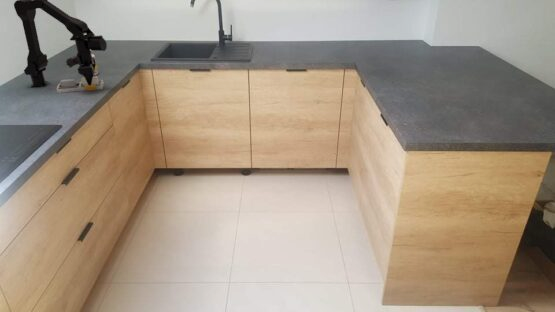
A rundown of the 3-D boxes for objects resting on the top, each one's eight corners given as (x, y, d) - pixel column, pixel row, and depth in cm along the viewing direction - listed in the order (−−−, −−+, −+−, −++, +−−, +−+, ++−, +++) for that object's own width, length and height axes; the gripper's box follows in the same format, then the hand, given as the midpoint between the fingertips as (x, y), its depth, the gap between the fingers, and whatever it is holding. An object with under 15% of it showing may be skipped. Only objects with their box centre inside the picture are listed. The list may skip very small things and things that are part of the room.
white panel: (84, 87, 197) (82, 77, 195) (99, 86, 199) (97, 76, 197) (83, 88, 195) (81, 78, 193) (99, 87, 197) (97, 77, 195)
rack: (59, 87, 197) (58, 82, 195) (103, 83, 202) (102, 79, 201) (57, 93, 190) (55, 88, 189) (102, 89, 195) (101, 84, 194)
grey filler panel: (63, 89, 195) (61, 80, 193) (77, 87, 197) (74, 79, 194) (62, 90, 193) (60, 81, 191) (76, 89, 194) (74, 80, 192)
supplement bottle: (83, 73, 216) (77, 49, 210) (95, 71, 220) (90, 47, 214) (87, 76, 212) (81, 52, 206) (100, 74, 216) (95, 50, 210)
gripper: (67, 46, 194) (74, 78, 202) (62, 56, 179) (70, 90, 186) (92, 45, 197) (98, 76, 205) (89, 54, 182) (96, 87, 189)
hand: (90, 82), depth 196 cm, fingers open, 9 cm apart
